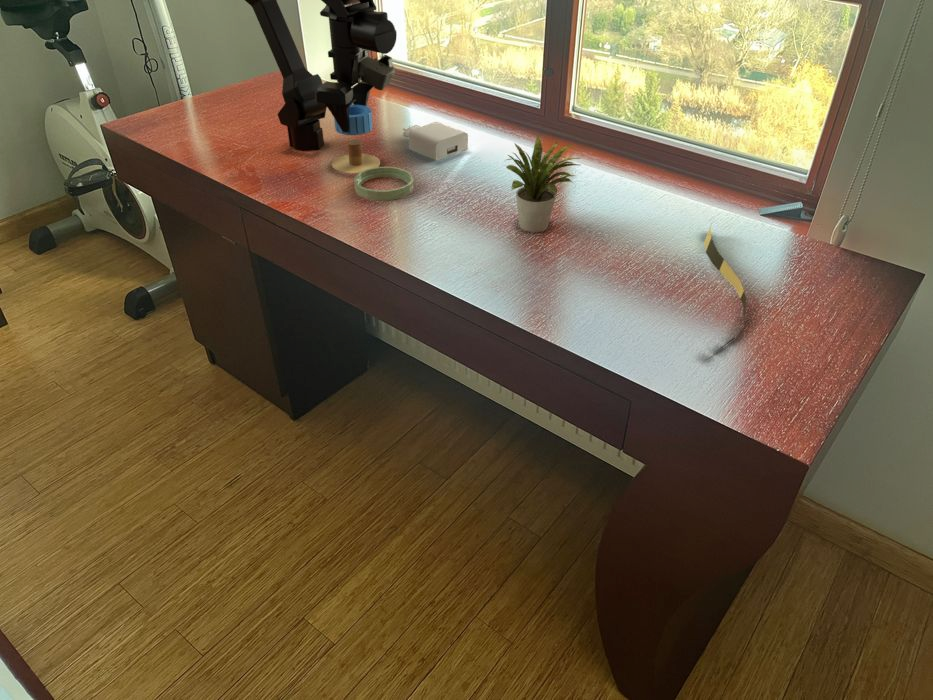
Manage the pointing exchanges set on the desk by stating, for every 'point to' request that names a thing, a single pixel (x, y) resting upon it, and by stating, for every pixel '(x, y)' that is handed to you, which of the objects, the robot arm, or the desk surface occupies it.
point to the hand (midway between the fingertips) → (353, 125)
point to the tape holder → (355, 159)
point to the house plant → (537, 185)
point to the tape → (724, 271)
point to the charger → (436, 140)
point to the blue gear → (357, 121)
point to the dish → (383, 172)
